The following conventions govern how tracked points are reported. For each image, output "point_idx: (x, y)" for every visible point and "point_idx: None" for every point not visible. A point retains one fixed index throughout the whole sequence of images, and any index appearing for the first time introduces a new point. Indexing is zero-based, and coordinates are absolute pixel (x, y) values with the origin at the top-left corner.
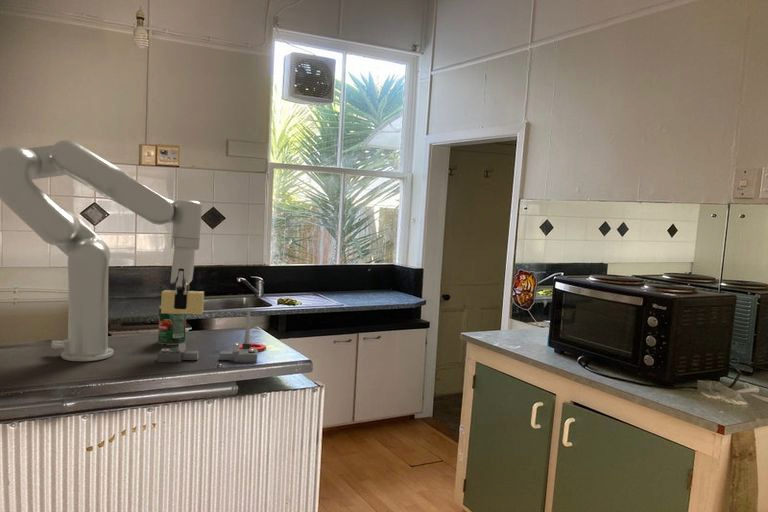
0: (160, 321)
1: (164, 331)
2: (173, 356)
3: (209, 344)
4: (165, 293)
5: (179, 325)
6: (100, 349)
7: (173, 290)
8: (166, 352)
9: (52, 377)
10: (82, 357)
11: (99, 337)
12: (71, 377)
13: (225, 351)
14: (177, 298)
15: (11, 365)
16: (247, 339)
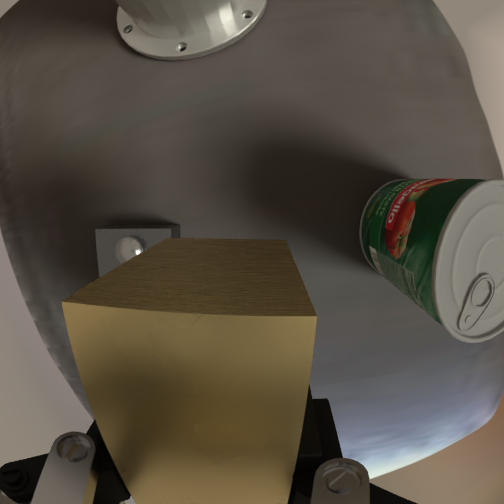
0: (424, 190)
1: (386, 210)
2: None
3: (357, 362)
4: (83, 346)
5: (399, 285)
6: (144, 27)
7: (296, 440)
8: (115, 256)
9: (23, 38)
10: (118, 12)
11: (123, 6)
12: (15, 70)
13: None
14: (93, 423)
15: None
16: None
